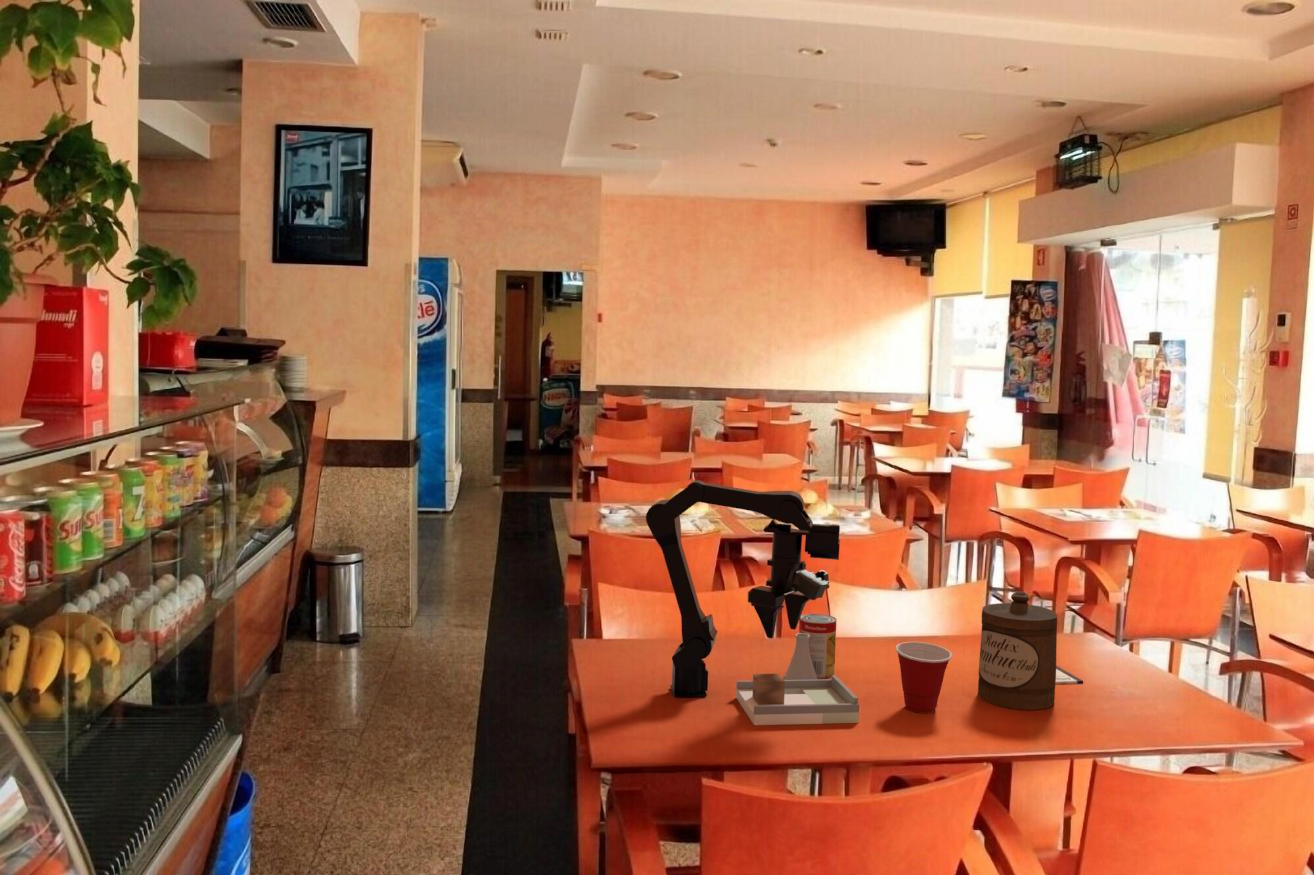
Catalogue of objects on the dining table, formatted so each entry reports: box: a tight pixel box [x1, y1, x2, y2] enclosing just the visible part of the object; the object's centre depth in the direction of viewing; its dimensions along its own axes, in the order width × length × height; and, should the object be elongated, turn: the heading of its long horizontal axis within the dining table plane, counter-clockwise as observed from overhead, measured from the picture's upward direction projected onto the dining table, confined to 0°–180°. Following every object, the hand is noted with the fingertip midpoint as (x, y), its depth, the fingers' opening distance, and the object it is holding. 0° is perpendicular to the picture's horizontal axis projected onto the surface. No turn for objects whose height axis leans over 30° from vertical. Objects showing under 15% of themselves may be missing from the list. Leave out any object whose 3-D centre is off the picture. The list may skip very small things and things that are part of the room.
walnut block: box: [752, 673, 785, 705], centre depth 216 cm, size 5×5×4 cm
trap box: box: [735, 674, 860, 726], centre depth 217 cm, size 20×16×4 cm
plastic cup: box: [895, 641, 953, 714], centre depth 219 cm, size 11×11×12 cm
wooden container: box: [977, 590, 1058, 711], centre depth 227 cm, size 15×15×22 cm
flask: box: [783, 632, 818, 680], centre depth 236 cm, size 7×7×10 cm
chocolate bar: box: [1055, 665, 1084, 685], centre depth 248 cm, size 9×1×18 cm
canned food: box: [798, 613, 838, 679], centre depth 242 cm, size 8×8×12 cm
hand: (781, 633), depth 222 cm, fingers open, 9 cm apart
